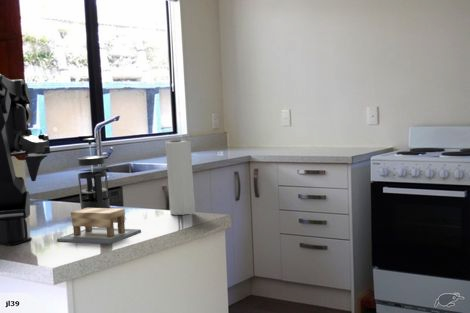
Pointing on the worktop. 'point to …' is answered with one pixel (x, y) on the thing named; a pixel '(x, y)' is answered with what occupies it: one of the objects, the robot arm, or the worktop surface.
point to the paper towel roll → (180, 177)
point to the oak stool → (98, 220)
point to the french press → (97, 184)
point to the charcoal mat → (99, 236)
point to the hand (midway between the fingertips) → (21, 183)
